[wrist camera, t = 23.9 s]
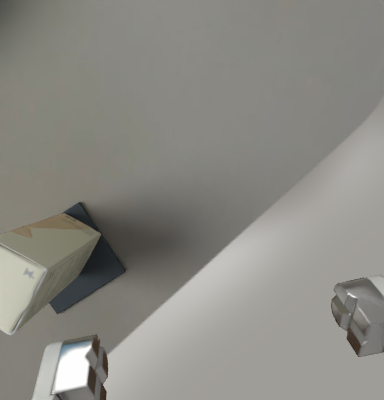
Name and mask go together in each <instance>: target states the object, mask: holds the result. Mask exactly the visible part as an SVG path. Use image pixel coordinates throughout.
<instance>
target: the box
mask: <svg viewBox="0 0 384 400" xmlns="http://www.w3.org/2000/svg"><path fill="white" fill-rule="evenodd" d="M100 236H101V234H100V233H99V232H97V231H96V230H94V229H92V228H91V227H89V226H87V225H85V224H84V223H82V222H80V221H78V220H76V219H75V218H73V217H71V216H69V215H67V214H65V213H63V214H60V215H57V216H54V217H51V218H48V219H45V220H42V221H39V222H36V223H32V224H30V225H27V226H23V227H21V228H17V229H15V230H12V231H8V232H5V233H2V234H0V330H1V331H3V332H5V333H6V334H8V335H12V334H14V333H15V332H16V331H18V330H19V329H20V328H21V327H22V326H23V325H24V324H25V323H27V322H28V321H29V320H30V319H31V318H32V317H33V316H34V315H35V314H37V313H38V312H39V311H40V310H41V309H42V308H43V307H44V306H45V305H46V304H48V303H49V302H50V301H51V300H52V299H53V298H54V297H55V296H56V295H58V294H59V293H60V292H61V291H62V290H63V289H64V288H65V287H66V286H67V285H69V284H70V283H71V282H72V281H73V280H74V279H75V278H76V277H77V276H78V275H79V274H80V272H81V271H82V269H83V267H84V266H85V264H86V262H87V260H88V259H89V257H90V255H91V253H92V251H93V249H94V248H95V246H96V244H97V242H98V240H99V238H100Z"/></svg>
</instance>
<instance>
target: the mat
mask: <svg viewBox="0 0 384 400" xmlns="http://www.w3.org/2000/svg"><path fill="white" fill-rule="evenodd" d="M63 213H65V214H67V215H69V216H71V217H73V218H75V219H76V220H78V221H80V222H82V223H84V224H85V225H87V226H89V227H91V228H92V229H94V230H96V231H97V232H99V230H98V229H97V227H96V226H95V224H94V223H93V221H92V220H91V218H90V217H89V215H88V214H87V212H86V211H85V209H84V208H83V206H82V205H81V203H80V202H79V203H77V204H76V205H74V206H73V207H71V208H69V209H68V210H66V211H65V212H63ZM63 213H62V214H63ZM99 233H100V232H99ZM100 234H101V233H100ZM123 272H125V269H124V268H123V266H122V265H121V263H120V262H119V260H118V259H117V257H116V256H115V254H114V253H113V251H112V250H111V248H110V247H109V245H108V244H107V242H106V241H105V239H104V238H103V236H102V235H101V236H100V238H99V240H98V242H97V244H96V246H95V248H94V249H93V251H92V253H91V255H90V257H89V259H88V260H87V262H86V264H85V266H84V267H83V269H82V271H81V272H80V274H79V275H78V276H77V277H76V278H75V279H74V280H73V281H72V282H71V283H70V284H69V285H67V286H66V287H65V288H64V289H63V290H62V291H61V292H60V293H59V294H58V295H56V296H55V297H54V298H53V299H52V300H51V301H50V302H49V303H50V305H51V306H52V307H53V309H54V310H55V312H56V313H57V314H59V313H60V312H62V311H63V310H65V309H67V308H68V307H70V306H71V305H73V304H74V303H76V302H78V301H79V300H81V299H82V298H84V297H85V296H87V295H89V294H90V293H92V292H93V291H95V290H96V289H98V288H100V287H101V286H103V285H104V284H106V283H108V282H109V281H111V280H112V279H114V278H115V277H117V276H119V275H120V274H122V273H123Z"/></svg>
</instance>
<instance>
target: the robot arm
mask: <svg viewBox="0 0 384 400" xmlns="http://www.w3.org/2000/svg"><path fill="white" fill-rule="evenodd" d="M334 292H335V293H336V296H335V297H334V298H333V299H332V303H331V308H332V313H333V316H334V318H335V320H336V322H337V323H338V325H339V327H341V328H343V329H344V330H346V331H347V340H348V341H349V343H350V344H351V346H352V348H353V349H354V351H355V352H356V354H357V355H358V357H362V356H367V355H372V354H378V353H383V352H384V277H383V276H382V275H375V276H371V277H366V278H360V279H355V280H351V281H346V282H342V283H338V284H337V285H335V288H334ZM99 344H100V340H99V338H98V336H97V335H92V336H87V337H81V338H76V339H71V340H66V341H60V342H56V343H51V344H48V345H47V347H46V349H45V351H44V355H43V359H42V363H41V366H40V370H39V374H38V378H37V382H36V386H35V390H34V394H33V398H32V399H31V400H106V390H105V388H104V386H103V383H104V382H105V380H106V379H107V377H108V360H107V355H106V352H105V349H104V348H103V347H101V346H99Z"/></svg>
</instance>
